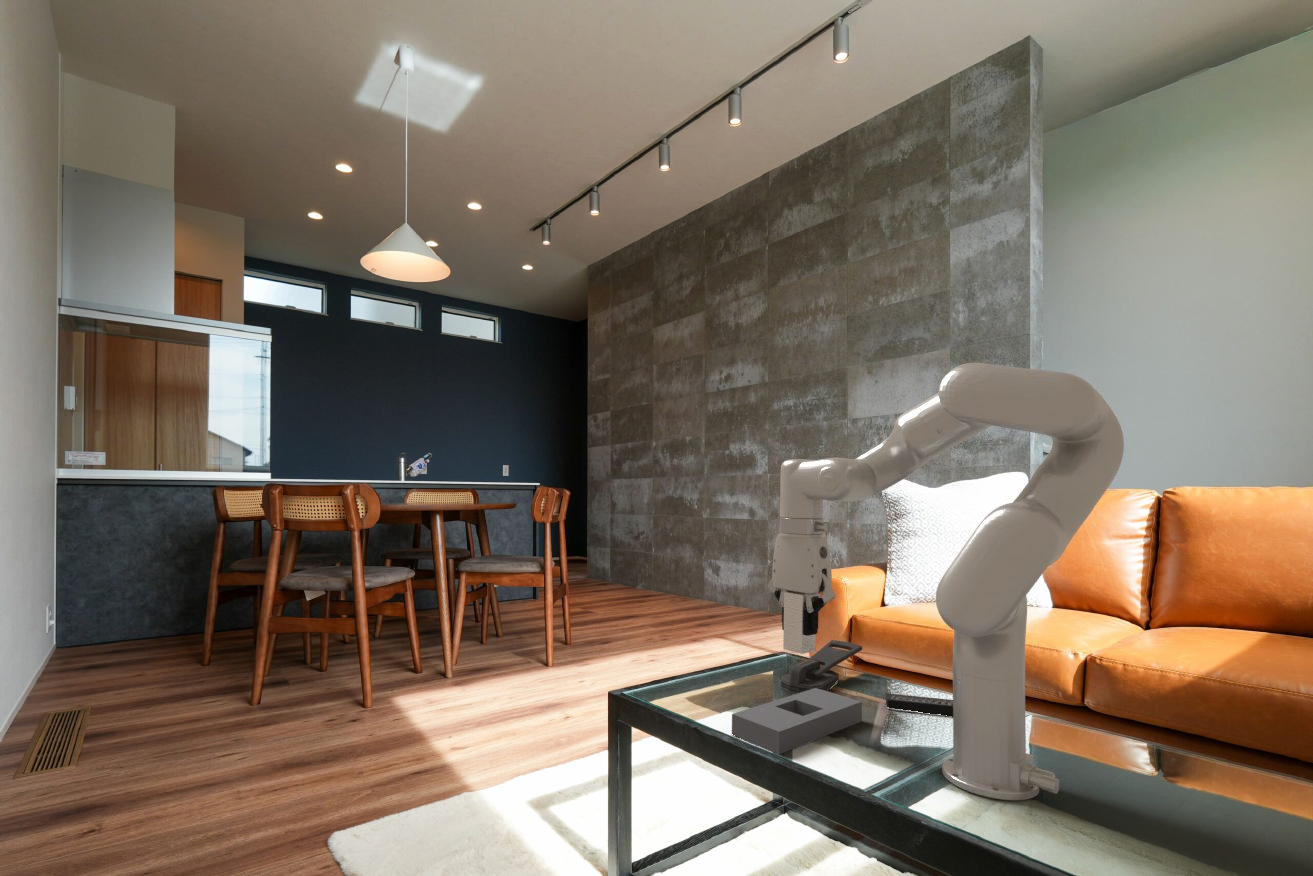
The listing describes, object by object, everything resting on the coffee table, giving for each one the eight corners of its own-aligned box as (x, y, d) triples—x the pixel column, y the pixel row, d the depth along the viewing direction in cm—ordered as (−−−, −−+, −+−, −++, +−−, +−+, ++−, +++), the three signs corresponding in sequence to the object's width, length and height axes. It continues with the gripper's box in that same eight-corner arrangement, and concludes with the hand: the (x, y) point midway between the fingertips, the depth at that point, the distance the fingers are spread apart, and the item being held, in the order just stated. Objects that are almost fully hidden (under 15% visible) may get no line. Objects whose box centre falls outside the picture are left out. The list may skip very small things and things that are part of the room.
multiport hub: (885, 704, 129) (885, 692, 129) (964, 713, 125) (964, 700, 126) (887, 712, 125) (887, 699, 125) (969, 720, 121) (969, 708, 121)
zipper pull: (866, 645, 149) (813, 665, 131) (866, 675, 149) (813, 699, 130) (830, 638, 155) (775, 657, 137) (830, 667, 155) (774, 689, 136)
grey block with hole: (861, 721, 118) (861, 701, 118) (779, 754, 102) (779, 731, 103) (815, 706, 126) (815, 687, 126) (731, 735, 110) (732, 714, 110)
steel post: (815, 650, 115) (816, 593, 116) (802, 654, 112) (802, 595, 113) (797, 646, 118) (797, 590, 119) (783, 649, 115) (784, 592, 116)
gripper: (853, 531, 113) (853, 638, 112) (776, 524, 125) (775, 621, 124) (828, 532, 108) (827, 644, 107) (751, 525, 121) (749, 626, 119)
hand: (799, 630), depth 115 cm, fingers closed on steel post, 4 cm apart
